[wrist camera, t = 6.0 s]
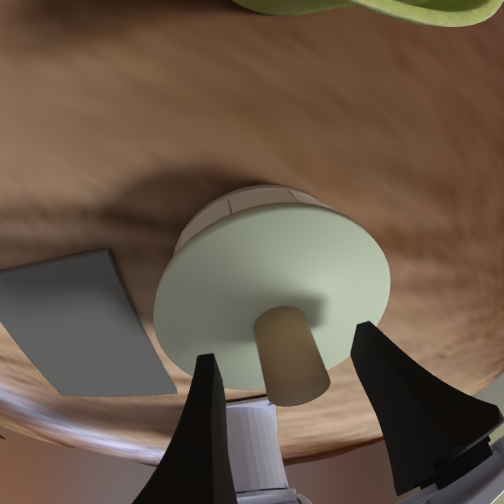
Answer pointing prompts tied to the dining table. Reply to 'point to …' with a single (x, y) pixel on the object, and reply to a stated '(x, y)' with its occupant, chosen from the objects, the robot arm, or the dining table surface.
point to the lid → (272, 297)
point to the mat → (81, 327)
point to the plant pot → (389, 9)
